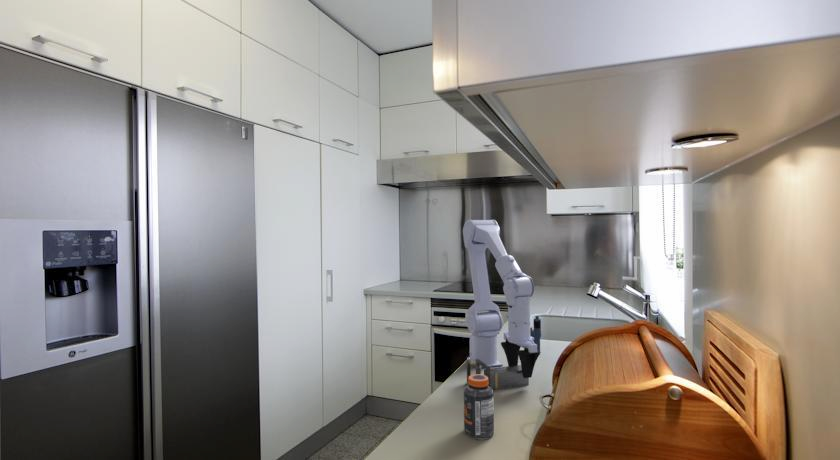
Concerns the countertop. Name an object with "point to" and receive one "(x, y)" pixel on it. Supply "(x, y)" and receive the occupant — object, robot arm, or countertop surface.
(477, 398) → the pill bottle
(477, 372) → the dark grey rectangular frame
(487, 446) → the countertop surface
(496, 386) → the gray rectangular prism
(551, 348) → the countertop surface
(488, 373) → the bracket
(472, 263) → the robot arm
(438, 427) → the countertop surface
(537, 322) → the vaping device
